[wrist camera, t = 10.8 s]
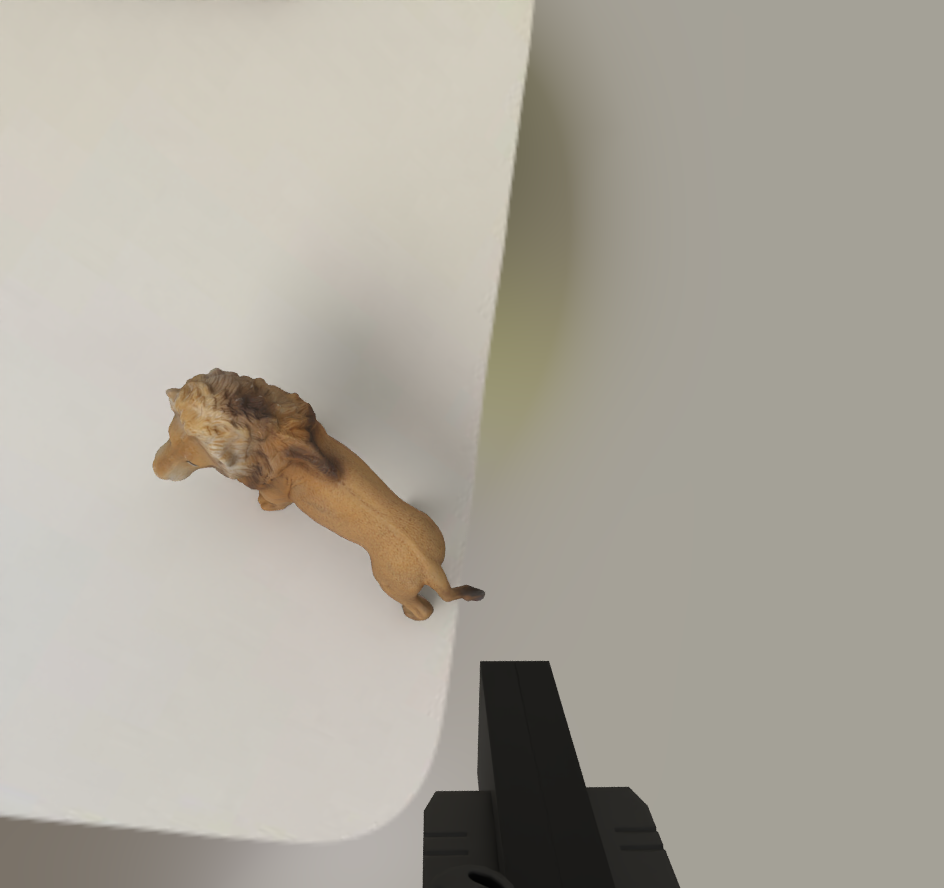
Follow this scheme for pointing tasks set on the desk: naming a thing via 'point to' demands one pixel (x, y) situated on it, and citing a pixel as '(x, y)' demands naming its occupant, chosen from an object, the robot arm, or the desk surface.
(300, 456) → the lion figurine
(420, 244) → the desk surface
